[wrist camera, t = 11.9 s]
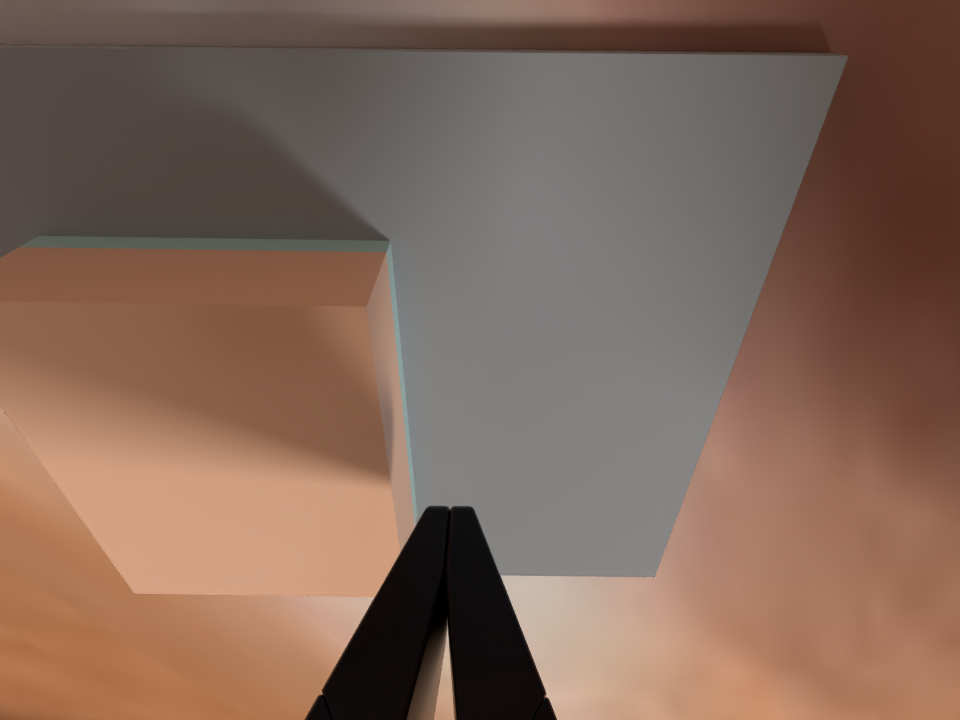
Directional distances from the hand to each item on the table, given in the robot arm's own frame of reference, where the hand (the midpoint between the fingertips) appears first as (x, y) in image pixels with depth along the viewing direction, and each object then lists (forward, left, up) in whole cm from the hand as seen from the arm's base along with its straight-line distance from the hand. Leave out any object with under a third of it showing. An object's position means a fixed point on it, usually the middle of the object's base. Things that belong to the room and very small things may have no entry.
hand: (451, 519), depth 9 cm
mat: (+2, 0, -4) cm, 4 cm away
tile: (+1, 0, -2) cm, 2 cm away
